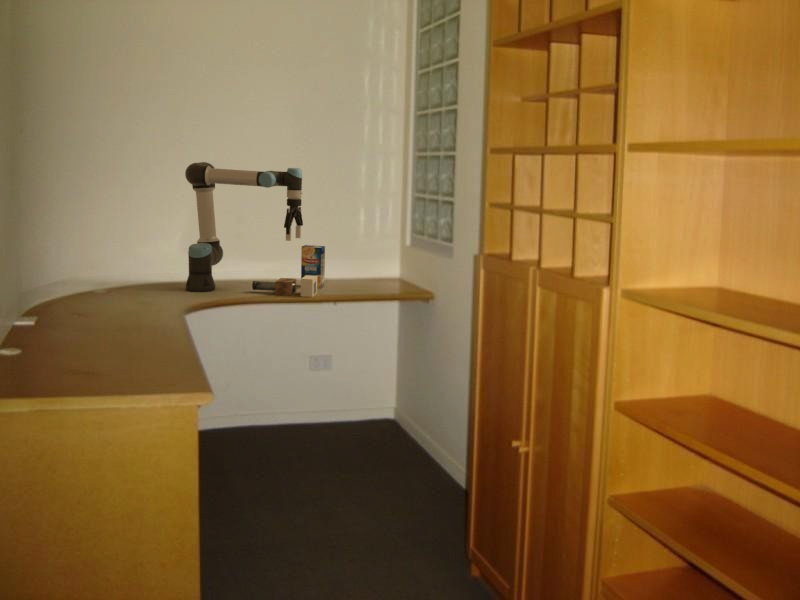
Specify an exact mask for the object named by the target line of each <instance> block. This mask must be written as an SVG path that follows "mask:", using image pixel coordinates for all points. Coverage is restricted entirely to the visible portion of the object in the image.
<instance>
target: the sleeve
mask: <svg viewBox="0 0 800 600" xmlns="http://www.w3.org/2000/svg"><path fill="white" fill-rule="evenodd" d="M274 282H275V291H274V293H275V296H281V297H285V296H288V297H291V296H293V295H294V294H296V293H297V291H296V292H292V283H296V284H297V278H291V277H290V278H289V277H286V278H284V277H280V278H279V279H277V280H275V281H274Z"/></svg>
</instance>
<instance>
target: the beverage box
mask: <svg viewBox="0 0 800 600" xmlns="http://www.w3.org/2000/svg"><path fill="white" fill-rule="evenodd" d="M325 254H326V246H325V245H314V244H313V245H311V244H309V245H308V244H305V245H302V246H301V261H300V262H301V266H300V268H301V269H300V271H301V272H300V274H301V276H300V279H301V278H303V277H304V276H306V275H309V276H317V290H318V289H319V290H322V289H323V288H325V273H326V272H325V269H326V267H325V266H326V265H325V263H326V262H325V259H326V255H325Z"/></svg>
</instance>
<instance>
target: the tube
mask: <svg viewBox="0 0 800 600" xmlns="http://www.w3.org/2000/svg"><path fill="white" fill-rule="evenodd" d="M275 282H276V281H263V280H262V281H259V280H253V281H252V285H251V286H252V290H254V291H274V292H275ZM297 285H298V284H297V282H296V283H292V292H296V293H297V289H298V288H297Z"/></svg>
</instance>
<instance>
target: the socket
mask: <svg viewBox="0 0 800 600" xmlns="http://www.w3.org/2000/svg"><path fill="white" fill-rule="evenodd" d="M317 293H318V289H317V276H309V275H306V276H304V277H303V278H301V277H300V297H305V298H306V297H309V298H313V297H314V296H316V295H317Z"/></svg>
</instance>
